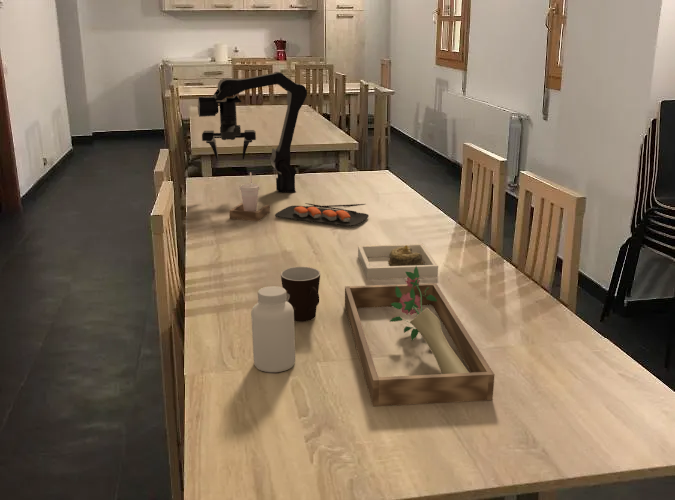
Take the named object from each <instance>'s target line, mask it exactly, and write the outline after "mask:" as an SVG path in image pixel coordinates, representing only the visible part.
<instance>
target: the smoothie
mask: <svg viewBox="0 0 675 500" xmlns="http://www.w3.org/2000/svg"><path fill="white" fill-rule="evenodd" d="M252 176H253V175H252V172H249V181H250V182H249V183H244V184H241V185H239V191H240V194H241V199H242V200H241V201H242V203H243V207H244V211H253V212H256V211H258V210H257V209H258V208H257V207H258V198H259V190H260V185H259V184H257V183H253V181H252V180H253V179H252Z"/></svg>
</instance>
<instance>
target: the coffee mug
mask: <svg viewBox="0 0 675 500" xmlns="http://www.w3.org/2000/svg"><path fill="white" fill-rule="evenodd" d="M280 279H281V281H280V282H281V285H282V286H281V287H282V288H284V289H285V290H286V295H287V298H286V301H287V302H289V303H290V304H291V305H292V307H293V310H294V322H297V323H305V322H310V321H312V320H314V319H315V318H316V315H317V314H316V313H317V307H318V305H319V303H320V294H319V289H320V280H321V271H320V270H319V269H317V268H314V267H310V266H291V267H288V268H286V269H283V270H281V272H280Z"/></svg>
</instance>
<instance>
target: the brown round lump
mask: <svg viewBox="0 0 675 500" xmlns="http://www.w3.org/2000/svg"><path fill="white" fill-rule="evenodd" d="M411 251H412V249H411V247H407V245H405V247H399V248H396V249H394V250H392V251H391V253H390V254H389V256H388V259H389V260H388V261H387V264H388V266H414V265H425V262H424V261H423V260H422V259H423V258H422V255H421V254H420V253H417V252H415V253H412V252H411Z"/></svg>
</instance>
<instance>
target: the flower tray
mask: <svg viewBox="0 0 675 500" xmlns="http://www.w3.org/2000/svg"><path fill="white" fill-rule="evenodd" d="M407 285H408V284H406V283H405V284H404V283H403V284H399V283H398V284H379V285H375V284H373V285H371V284H370V285H352V286H351V285H350V286H348V285H347V286H346V285H345V286H344V309H345V312H346V316H347V319H348V323H349V324H348V325H349V326H350V331H351V334H352V338H353V341H354V344H355V348H356V352H357V355H358V358H359V362H360V366H361V369H362V373H363V376H364V377H363V378H364V380H365V383H366V386H367V391H368V395H369V398H370V401H371V405H372V407H384V406H404V405H407V406H408V405H423V404H440V403H441V404H443V403H445V404H446V403H461V402H463V403H464V402H465V403H466V402H479V401H481V402H484V401H493V400H494V399H493V398H494V397H493V396H494V387H495V386H494V385H495V373H494V371H493V369H492V368H491V367H490V365H489V363H488V362H487V360H486V359H485V358H484V356H483V354H482V353H481V351H480V349H479V348H478V345H476V343H475V341H474V340H473V338H472V337H471V336H470V333H469V332H468V330H467V329H466V327H465V326H464V324H463V323H462V321H461V320H460V318H459V317H458V315H457V313H456V312H455V310H454V309H453V307H452V305H451V304H450V302H449V301H448V299H447V298H446V296H445V294H444V292H443V291H442V290H441V288H440V287H439V285H438V284H437V282H434V283H419V289H420V291H421V294H422V307H423V306H432V308H433V309H434V312H435V313H436V315H437V317H438V318H439V319H440V323H441V324H442V326H444V328H445V331H446V333H447V334H448V335H449V337H450V339H451V341H452V342H453V345H454V347H455V348H456V349H457V351H458V352H459V354H460V357H461V359H462V360H463V361H464V363H465V365H466V366H467V367H466V368H467V369H468V370H469V373H454V374H442V373H439V374H438V373H437V374H416V375H397V376H396V375H395V376H379V375H378V371H377V368H376V367H375V366H376V365H375V362H374V360H373V356H372V353H371V350H370V347H369V344H368V341H367V340H368V339H367V337H366V334H365V332H364V328H363V325H362V321H361V318H360V315H359V312H358V309H366V308H367V309H369V308H370V309H372V308H373V309H374V308H392V307H393V306H392V305H391V304H392V303H394V302H396V303H399V302H400V298H402V296H403V295H404V294H405V295H406V294H407V293H410V291H411V289H412V287H409V286H407ZM396 286H397V287H398V288H399V289H400V291H401V293H402V296H401V297H397V296H396V292H395V289H396ZM412 286H413V285H412ZM417 286H418V285H417ZM428 287H429V289H428V290H426V289H427V288H428ZM413 290H414V292H415V296H416V295H418V297H421V296H420V292H419V290H418V288H417V287H414V288H413ZM425 290H426V293H425ZM425 294H426V295H425ZM423 295H425V296H423ZM429 295H432V296H434V297H435V298H436V300H437V301H430V300H427V299H426V298H427V296H429ZM419 302H421V300H420V301H419ZM393 308H394V307H393Z"/></svg>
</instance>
